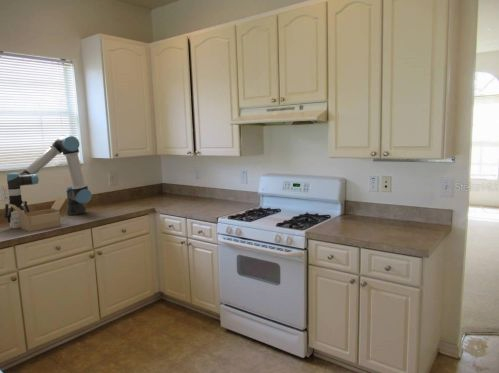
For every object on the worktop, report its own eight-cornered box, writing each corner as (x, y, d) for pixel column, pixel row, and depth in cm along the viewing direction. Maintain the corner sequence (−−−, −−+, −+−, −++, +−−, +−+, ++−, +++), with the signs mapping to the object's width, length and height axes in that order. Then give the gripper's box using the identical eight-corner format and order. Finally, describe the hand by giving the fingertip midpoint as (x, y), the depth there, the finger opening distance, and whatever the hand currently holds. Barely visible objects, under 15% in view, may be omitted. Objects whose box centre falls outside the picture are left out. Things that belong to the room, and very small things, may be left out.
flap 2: (51, 208, 284) (58, 196, 288) (58, 210, 276) (66, 198, 279) (50, 208, 284) (58, 196, 287) (58, 210, 276) (65, 198, 279)
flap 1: (20, 213, 269) (8, 203, 263) (26, 215, 260) (15, 205, 254) (19, 213, 268) (8, 203, 263) (26, 216, 260) (14, 206, 254)
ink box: (23, 225, 280) (22, 209, 279) (26, 226, 277) (24, 210, 276) (10, 227, 274) (8, 211, 272) (13, 228, 271) (11, 212, 269)
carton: (51, 222, 287) (50, 208, 286) (61, 226, 276) (60, 211, 274) (20, 228, 272) (18, 213, 270) (29, 232, 260) (27, 217, 259)
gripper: (29, 192, 282) (32, 222, 286) (-4, 196, 267) (-1, 227, 270) (33, 193, 278) (36, 223, 281) (-1, 197, 262) (3, 229, 265)
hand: (18, 225), depth 275 cm, fingers closed on ink box, 9 cm apart
